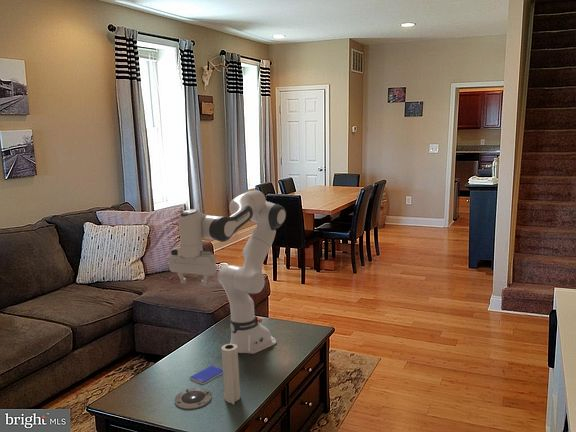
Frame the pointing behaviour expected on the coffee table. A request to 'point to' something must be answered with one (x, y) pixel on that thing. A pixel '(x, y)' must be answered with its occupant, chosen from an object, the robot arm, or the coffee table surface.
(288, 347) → the coffee table surface
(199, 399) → the duct flange
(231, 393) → the paper towel roll
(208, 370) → the hard drive
